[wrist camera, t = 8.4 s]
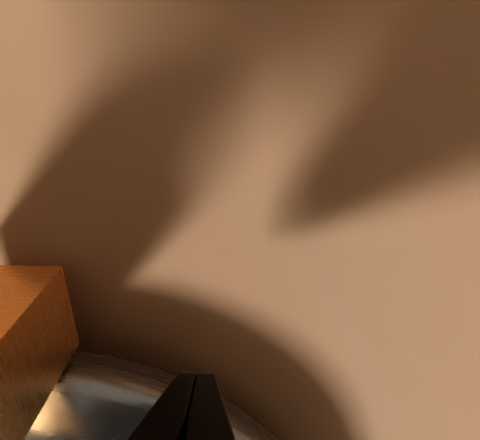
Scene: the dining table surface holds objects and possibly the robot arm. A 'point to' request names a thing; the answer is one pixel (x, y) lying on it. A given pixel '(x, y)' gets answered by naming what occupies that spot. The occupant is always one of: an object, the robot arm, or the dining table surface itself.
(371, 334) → the dining table surface
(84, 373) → the platter
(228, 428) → the robot arm
